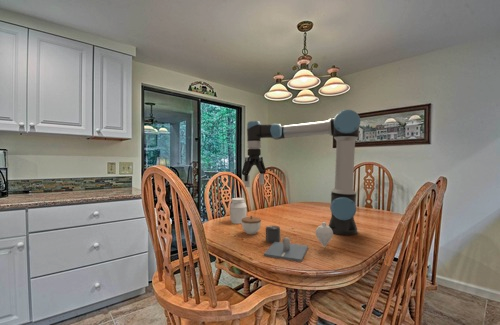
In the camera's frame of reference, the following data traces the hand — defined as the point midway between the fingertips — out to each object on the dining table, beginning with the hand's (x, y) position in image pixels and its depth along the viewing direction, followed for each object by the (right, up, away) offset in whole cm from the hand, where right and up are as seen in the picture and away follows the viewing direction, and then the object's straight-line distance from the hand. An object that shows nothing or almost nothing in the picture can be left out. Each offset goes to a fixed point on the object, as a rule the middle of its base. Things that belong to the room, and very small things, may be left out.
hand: (254, 185), depth 139 cm
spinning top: (+31, -26, -28) cm, 49 cm away
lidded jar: (-2, -26, -3) cm, 26 cm away
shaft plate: (+14, -26, -31) cm, 43 cm away
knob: (+9, -26, -16) cm, 32 cm away
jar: (-10, -26, +21) cm, 34 cm away
